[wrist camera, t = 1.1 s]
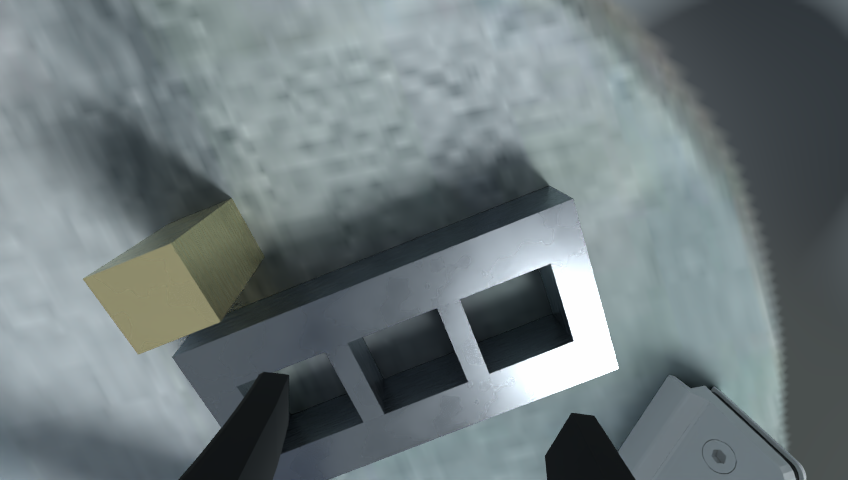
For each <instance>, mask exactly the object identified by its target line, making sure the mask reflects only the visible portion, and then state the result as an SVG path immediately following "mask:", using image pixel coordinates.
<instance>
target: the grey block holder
mask: <svg viewBox="0 0 848 480" xmlns="http://www.w3.org/2000/svg"><path fill="white" fill-rule="evenodd" d="M538 268H539V272H540V275H541V278H542V281H543V284H544V287H545V291H546V294H547V297H548V300H549V303H550V307H551V310H552V313H553V314H551V315H549V316H546V317H544V318H541V319H539V320H536V321H533V322H531V323H528V324H526V325H523V326H521V327H518V328H515V329H513V330H510V331H508V332H505V333H502V334H500V335H497V336H495V337H492V338H490V339H487V340H484V341H482V342H479V343H477V342H476V339H475V336H474V334H473V331H472V329H471V326H470V324H469V321H468V319H467V316H466V314H465V311H464V309H463V306H462V304H461V301H460V299H462V298H464V297H467V296H469V295H472V294H474V293H477V292H479V291H482V290H485V289H487V288H490V287H492V286H495V285H497V284H500V283H502V282H505V281H508V280H510V279H513V278H515V277H518V276H520V275H523V274H525V273H528V272H531V271H533V270H536V269H538ZM436 308H437V309H438V312H439V314H440V316H441V319H442V321H443V323H444V326H445V328H446V331H447V333H448V335H449V338H450V340H451V342H452V345H453V347H454V350H455V352H453V353H451V354H448V355H446V356H443V357H441V358H438V359H435V360H433V361H430V362H428V363H425V364H422V365H420V366H417V367H415V368H412V369H410V370H407V371H404V372H402V373H399V374H397V375H394V376H392V377H389V378H386V379H383V377H382V375H381V373H380V371H379V369H378V367H377V365H376V363H375V361H374V359H373V357H372V355H371V353H370V351H369V349H368V347H367V345H366V343H365V341H364V339H363V337H364V336H367V335H369V334H372V333H375V332H377V331H380V330H382V329H385V328H387V327H390V326H392V325H395V324H398V323H400V322H403V321H405V320H408V319H410V318H413V317H415V316H418V315H421V314H423V313H426V312H428V311H431V310H433V309H436ZM323 352H325V353H326V355H327V356H328V358H329V360H330V362H331V364H332V366H333V367H334V369H335V371H336V373H337V375H338V377H339V378H340V380H341V382H342V384H343V386H344V387H345V389H346V391H347V393H348V394H345V395H343V396H340V397H337V398H335V399H332V400H330V401H327V402H324V403H322V404H319V405H317V406H314V407H312V408H309V409H306V410H304V411H301V412H299V413H296V414H293V415H291V414H290V412H289V421H288V428H287V432H286V436H285V439H284V443H283V447H282V451H281V455H280V458H279V462H278V466H277V469H276V472H275V474H274V477H273V480H329V479H331V478H334V477H337V476H339V475H342V474H344V473H347V472H350V471H352V470H355V469H358V468H360V467H363V466H365V465H368V464H371V463H373V462H376V461H378V460H381V459H384V458H386V457H389V456H392V455H394V454H397V453H399V452H402V451H405V450H407V449H410V448H412V447H415V446H418V445H420V444H423V443H426V442H428V441H431V440H433V439H436V438H439V437H441V436H444V435H446V434H449V433H452V432H454V431H457V430H460V429H462V428H465V427H467V426H470V425H473V424H475V423H478V422H480V421H483V420H486V419H488V418H491V417H494V416H496V415H499V414H501V413H504V412H507V411H509V410H512V409H514V408H517V407H520V406H522V405H525V404H528V403H530V402H533V401H535V400H538V399H541V398H543V397H546V396H549V395H551V394H554V393H556V392H559V391H562V390H564V389H567V388H569V387H572V386H575V385H577V384H580V383H583V382H585V381H588V380H590V379H593V378H596V377H598V376H601V375H603V374H606V373H609V372H611V371H614V370H617V369H619V368H618V364H617V361H616V357H615V353H614V349H613V346H612V342H611V338H610V334H609V331H608V327H607V323H606V319H605V316H604V312H603V308H602V304H601V301H600V297H599V293H598V289H597V286H596V282H595V278H594V274H593V271H592V267H591V263H590V259H589V256H588V252H587V248H586V244H585V241H584V237H583V233H582V229H581V226H580V222H579V218H578V214H577V211H576V207H575V203H574V199H573V198H571V197H569V196H567V195H566V194H564V193H562V192H560V191H558V190H557V189H555V188H553V187H551V186H548V187H545V188H543V189H540V190H538V191H535V192H533V193H530V194H527V195H525V196H522V197H520V198H517V199H515V200H512V201H510V202H507V203H505V204H502V205H500V206H497V207H495V208H492V209H490V210H487V211H485V212H482V213H480V214H477V215H474V216H472V217H469V218H467V219H464V220H462V221H459V222H457V223H454V224H452V225H449V226H447V227H444V228H442V229H439V230H437V231H434V232H432V233H429V234H427V235H424V236H421V237H419V238H416V239H414V240H411V241H409V242H406V243H404V244H401V245H399V246H396V247H394V248H391V249H389V250H386V251H384V252H381V253H379V254H376V255H374V256H371V257H369V258H366V259H363V260H361V261H358V262H356V263H353V264H351V265H348V266H346V267H343V268H341V269H338V270H336V271H333V272H331V273H328V274H326V275H323V276H321V277H318V278H316V279H313V280H310V281H308V282H305V283H303V284H300V285H298V286H295V287H293V288H290V289H288V290H285V291H283V292H280V293H278V294H275V295H273V296H270V297H268V298H265V299H263V300H260V301H257V302H255V303H252V304H250V305H247V306H245V307H242V308H240V309H237V310H235V311H232V312H230V313H227V314H226V315H225V316H224V318H223V319H222V321H221V322H219V323H217V324H214V325H212V326H209V327H207V328H204V329H202V330H199V331H196V332H194V333H191V334H190V335H189V336H188V337H187V339H186V340H185V341H184V343H183V344H182V345H181V346H180V348H179V349H178V350H177V352H176V353H175V354H174V356H173V357H172V358H173V359H174V360H175V362H176V363H177V365H178V366H179V368H180V369H181V370H182V372H183V373H184V375H185V376H186V378H187V379H188V380H189V382H190V383H191V385H192V386H193V388H194V389H195V390H196V392H197V393H198V395H199V396H200V398H201V399H202V400H203V402H204V403H205V405H206V406H207V408H208V409H209V410H210V412H211V413H212V415H213V416H214V418H215V419H216V420H217V422H218V423H219V425H220V426H221V428H222V427H223V425H224V424H225V423H226V421H227V420H228V419H229V417H230V416H231V415H232V413H233V412H234V411H235V409H236V408H237V406H238V405H239V404H240V402H241V401H242V399H243V398H244V397H245V395H246V394H247V392H248V391H249V389H250V388H251V386H252V385H253V383H254V382H255V380H256V378H257V377H258V375H259V374H261V373H262V372H270V373H272V372H275V371H277V370H280V369H283V368H285V367H288V366H290V365H293V364H295V363H298V362H300V361H303V360H306V359H308V358H311V357H313V356H316V355H318V354H321V353H323Z"/></svg>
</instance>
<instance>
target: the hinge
mask: <svg viewBox="0 0 848 480" xmlns="http://www.w3.org/2000/svg"><path fill="white" fill-rule="evenodd" d="M618 453H619V455H620V456H621V458H622V459H623V461H624V462H625V464H626V465H627V467H628V469H629V470H630V472H631V473H632V475H633V476H634V478H635V479H636V480H806V474H805V471H804V469H803V467H802V465H801V464H800V463H799V462H798V461H797V460H796V459H795V458H794V457H793V456H792V455H791V454H789V453H788V452H787V451H786V450H785V449H784V448H783V447H782V446H781V445H780V444H778V443H777V442H776V441H775V440H774V439H773V438H772V437H771V436H770V435H769V434H767V433H766V432H765V431H764V430H763V429H762V428H761V427H760V426H759V425H758V424H757V423H755V422H754V421H753V420H752V419H751V418H750V417H749V416H748V415H747V414H746V413H744V412H743V411H742V410H741V409H740V408H739V407H738V406H737V405H736V404H735V403H733V402H732V401H731V400H730V399H729V398H728V397H727V396H726V395H725V394H724V393H722V392H721V391H720V390H719V389H717V388H716V387H714V386H713V388H712V389H711V390H709V389H708V388H707V387H706V386H701V387H695V388H689V387H688V386H687V385H686V384H684V383H683V382H682V381H680V380H679V379H678V378H676V377H675V376H672V375H668V377H667V378H666V380H665V381H664V383H663V384H662V386H661V387H660V389H659V390H658V392H657V393H656V395H655V396H654V398H653V399H652V401H651V402H650V404H649V405H648V407H647V408H646V410H645V411H644V413H643V414H642V416H641V417H640V419H639V420H638V422H637V423H636V425H635V427H634V428H633V430H632V431H631V433H630V434H629V436H628V437H627V439H626V440H625V442H624V443H623V445H622V446H621V448H620V449H619V451H618Z"/></svg>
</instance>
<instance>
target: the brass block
mask: <svg viewBox="0 0 848 480" xmlns="http://www.w3.org/2000/svg"><path fill="white" fill-rule="evenodd" d="M263 259H264V255H263V253H262V252H261V250H260V248H259V246H258V244H257V243H256V241H255V239H254V237H253V236H252V234H251V232H250V230H249V228H248V227H247V225H246V223H245V221H244V219H243V218H242V216H241V214H240V212H239V210H238V209H237V207H236V205H235V203H234V201H233V200H232V198H231V199H229V200H226V201H224V202H221V203H219V204H216V205H214V206H212V207H209V208H207V209H204V210H202V211H199V212H197V213H194V214H192V215H189V216H187V217H184V218H182V219H179V220H177V221H174V222H172V223H169V224H168V225H166V226H165V227H163V228H162V229H160V230H158V231H157V232H155V233H154V234H152V235H151V236H149V237H148V238H146V239H144V240H143V241H141V242H140V243H138V244H137V245H135V246H133V247H132V248H130V249H129V250H127V251H126V252H124V253H123V254H121V255H119V256H118V257H116V258H115V259H113V260H112V261H110V262H108V263H107V264H105V265H104V266H102V267H101V268H99V269H98V270H96V271H94V272H93V273H91V274H90V275H88V276H87V277H85V278H83V280H84V281H85V283H86V284H87V285H88V287H89V288H90V289H91V291H92V292H93V293H94V295H95V296H96V298H97V299H98V300H99V302H100V303H101V304H102V306H103V307H104V308H105V310H106V311H107V313H108V314H109V315H110V317H111V318H112V319H113V321H114V322H115V323H116V325H117V326H118V328H119V329H120V330H121V332H122V333H123V334H124V336H125V337H126V338H127V340H128V341H129V343H130V344H131V345H132V347H133V348H134V349H135V351H136V352H137V354H141V353H143V352H146V351H148V350H151V349H154V348H156V347H159V346H161V345H164V344H166V343H169V342H171V341H174V340H176V339H179V338H181V337H184V336H186V335H189V334H191V333H194V332H196V331H199V330H202V329H204V328H207V327H209V326H212V325H214V324H217V323H219V322H221V321H222V319H223V318H224V316H225V315H226V313H227V312H228V310H229V309H230V307H231V306H232V304H233V303H234V301H235V300H236V298H237V297H238V296H239V294H240V293H241V291H242V290H243V288H244V287H245V285H246V284H247V282H248V281H249V279H250V278H251V276H252V275H253V273H254V272H255V270H256V269H257V267H258V266H259V265H260V263H261V262H262V260H263Z"/></svg>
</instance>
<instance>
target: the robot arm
mask: <svg viewBox="0 0 848 480" xmlns="http://www.w3.org/2000/svg"><path fill="white" fill-rule="evenodd" d="M288 421H289V375H285V374H277V373H270V372H262V373H261V374H259V375H258V377H257V378H256V380H255V382H254V383H253V385H252V386H251V388H250V389H249V391H248V392H247V394H246V395H245V397H244V398H243V399H242V401H241V402H240V404H239V405H238V406H237V408H236V409H235V411H234V412H233V413H232V415H231V416H230V417H229V419H228V420H227V421H226V423H225V424H224V425H223V427H222V428H221V429H220V430H219V432H218V433H217V434H216V435H215V437H214V438H213V439H212V440H211V442H210V443H209V444H208V445H207V447H206V448H205V449H204V450H203V452H202V453H201V454H200V455H199V457H198V458H197V459H196V460H195V461H194V462H193V464H192V465H191V466H190V467H189V468H188V469H187V471H186V472H185V473H184V474H183V475H182V476H181V477H180V479H179V480H273V477H274V474H275V472H276V469H277V466H278V462H279V458H280V455H281V451H282V447H283V443H284V439H285V436H286V432H287V428H288ZM545 461H546V472H547V480H636V479H635V478H634V476H633V475H632V473H631V472H630V470H629V469H628V467H627V465H626V464H625V462H624V461H623V459H622V458H621V456H620V455H619V453H618V452H617V450H616V449H615V447H614V445H613V444H612V442H611V441H610V439H609V438H608V436H607V435H606V433H605V432H604V430H603V428H602V427H601V425H600V424H599V422H598V421H597V419H596V418H595V416H592V415H584V414H577V413H571V415H570V416H569V418H568V419H567V421H566V423H565V424H564V426H563V428H562V429H561V431H560V432H559V434H558V436H557V437H556V439H555V441H554V442H553V444H552V445H551V447H550V449H549V450H548V452H547V454H546V455H545Z"/></svg>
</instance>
